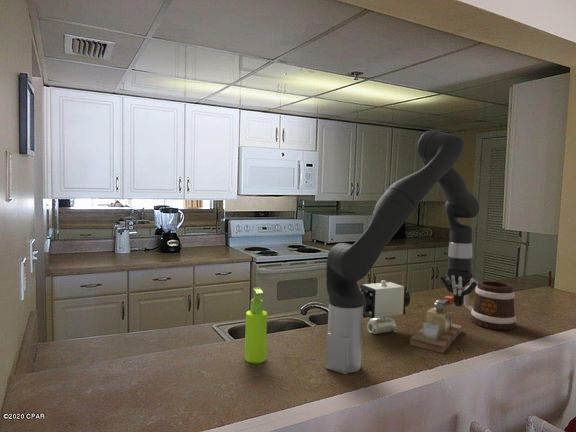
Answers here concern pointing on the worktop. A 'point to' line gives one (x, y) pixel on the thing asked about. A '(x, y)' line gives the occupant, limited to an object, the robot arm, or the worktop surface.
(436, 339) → the valve pipe
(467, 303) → the mug
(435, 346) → the valve base
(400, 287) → the ball valve
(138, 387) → the worktop surface
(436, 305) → the lever
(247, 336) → the soap dispenser
